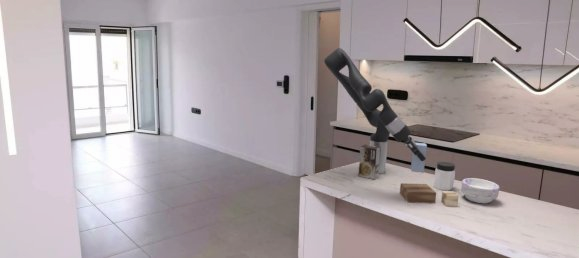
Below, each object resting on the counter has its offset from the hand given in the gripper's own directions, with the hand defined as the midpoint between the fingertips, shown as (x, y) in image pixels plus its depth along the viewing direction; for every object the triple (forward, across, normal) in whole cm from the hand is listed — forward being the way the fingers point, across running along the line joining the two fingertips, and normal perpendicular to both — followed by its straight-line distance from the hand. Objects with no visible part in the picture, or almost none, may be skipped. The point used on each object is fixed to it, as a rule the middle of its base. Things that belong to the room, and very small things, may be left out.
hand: (423, 158), depth 176 cm
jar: (+22, -19, -4) cm, 30 cm away
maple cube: (+22, +4, -4) cm, 22 cm away
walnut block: (+13, 0, -14) cm, 19 cm away
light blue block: (+3, 0, -6) cm, 6 cm away
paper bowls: (+31, -6, +6) cm, 33 cm away
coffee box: (-2, -26, -30) cm, 40 cm away
